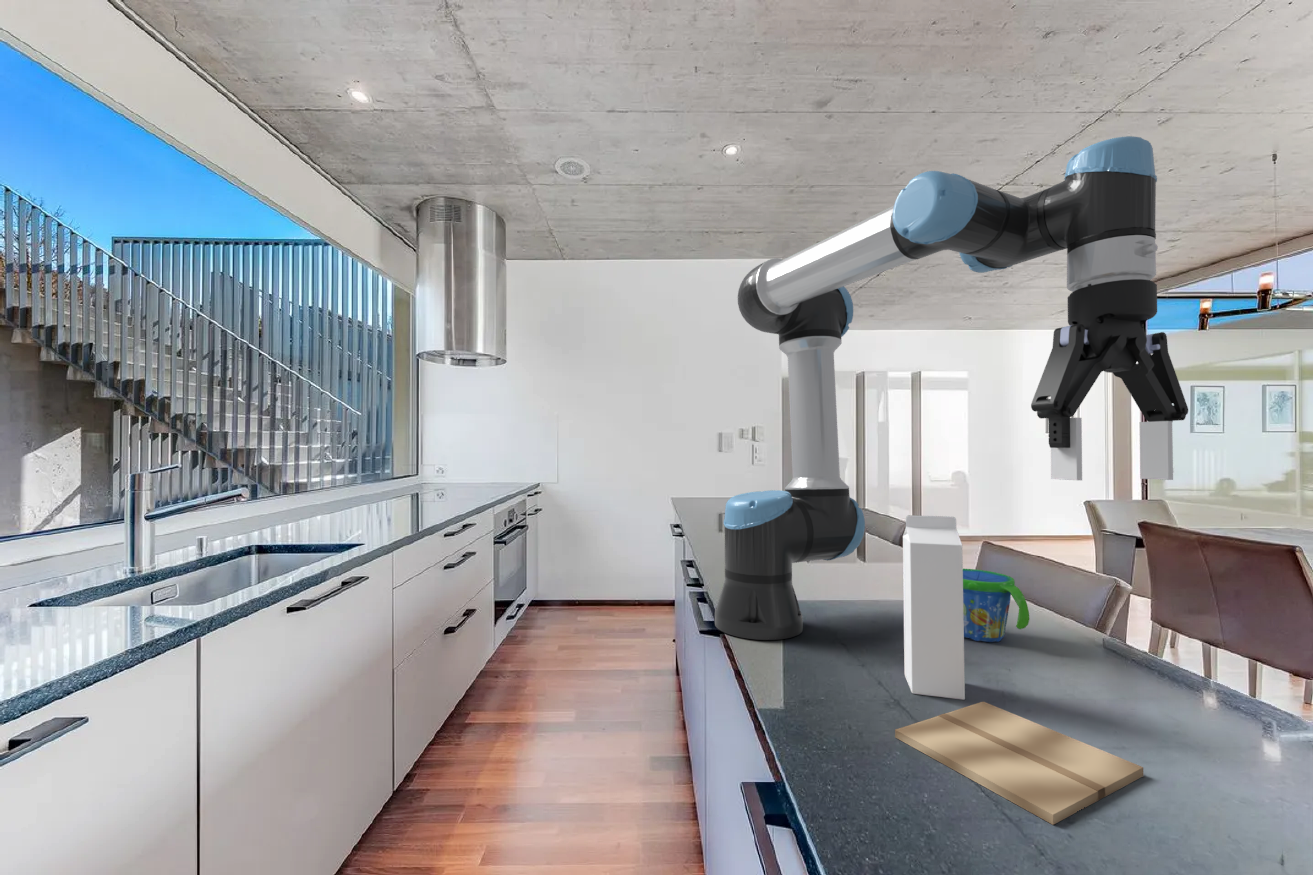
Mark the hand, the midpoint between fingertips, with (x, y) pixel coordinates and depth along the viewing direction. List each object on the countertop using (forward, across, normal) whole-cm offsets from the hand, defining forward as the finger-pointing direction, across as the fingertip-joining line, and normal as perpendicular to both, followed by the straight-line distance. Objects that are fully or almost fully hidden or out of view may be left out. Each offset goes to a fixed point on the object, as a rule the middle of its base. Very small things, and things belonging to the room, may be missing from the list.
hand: (1112, 479), depth 58 cm
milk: (+28, -10, +15) cm, 33 cm away
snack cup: (+28, +12, +29) cm, 42 cm away
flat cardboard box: (+27, -15, 0) cm, 31 cm away
